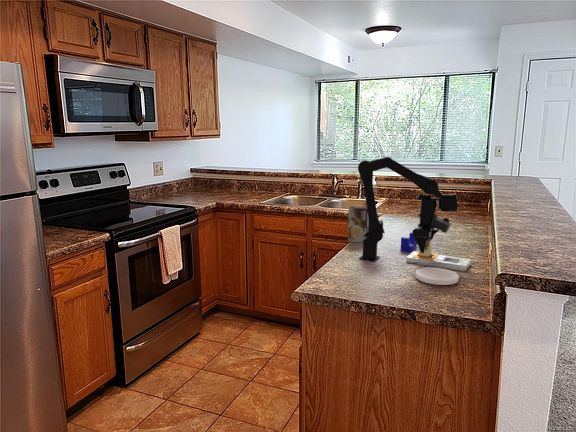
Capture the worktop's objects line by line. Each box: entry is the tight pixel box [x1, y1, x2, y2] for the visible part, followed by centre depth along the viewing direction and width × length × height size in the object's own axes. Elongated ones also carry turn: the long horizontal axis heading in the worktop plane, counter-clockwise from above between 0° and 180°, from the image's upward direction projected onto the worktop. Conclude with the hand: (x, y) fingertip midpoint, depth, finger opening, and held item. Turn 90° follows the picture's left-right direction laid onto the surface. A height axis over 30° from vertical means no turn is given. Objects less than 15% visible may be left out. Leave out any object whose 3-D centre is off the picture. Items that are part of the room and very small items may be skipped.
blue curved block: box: [400, 232, 418, 253], centre depth 188 cm, size 12×4×6 cm, turn 145°
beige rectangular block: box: [418, 238, 434, 258], centre depth 170 cm, size 4×4×9 cm
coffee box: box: [347, 205, 369, 244], centre depth 201 cm, size 9×6×16 cm
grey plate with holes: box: [405, 250, 472, 272], centre depth 168 cm, size 10×22×2 cm, turn 58°
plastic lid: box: [415, 266, 460, 286], centre depth 149 cm, size 14×14×2 cm
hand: (425, 250), depth 170 cm, fingers open, 9 cm apart
